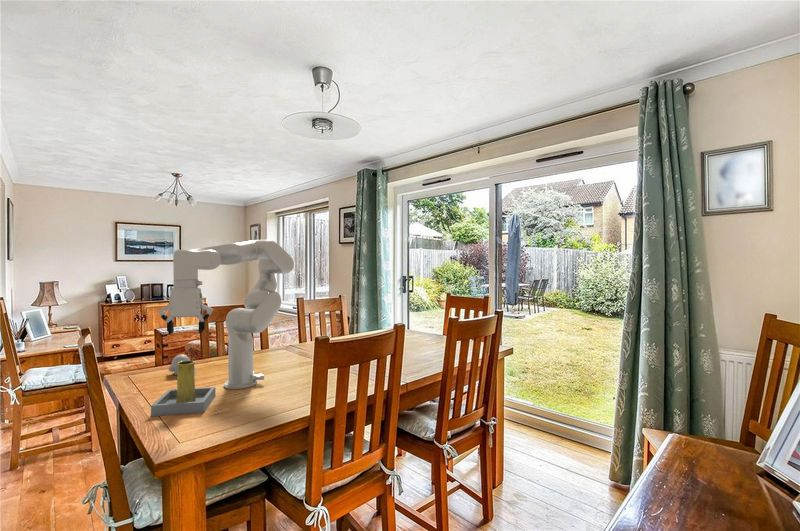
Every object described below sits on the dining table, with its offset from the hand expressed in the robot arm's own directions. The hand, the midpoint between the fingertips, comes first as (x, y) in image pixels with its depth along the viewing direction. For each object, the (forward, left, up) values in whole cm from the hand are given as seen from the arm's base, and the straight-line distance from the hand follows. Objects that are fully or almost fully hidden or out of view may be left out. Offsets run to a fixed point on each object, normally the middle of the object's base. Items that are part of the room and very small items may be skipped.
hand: (186, 333), depth 136 cm
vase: (0, 0, -25) cm, 25 cm away
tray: (0, 0, -26) cm, 26 cm away
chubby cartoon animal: (+13, -41, -26) cm, 50 cm away
